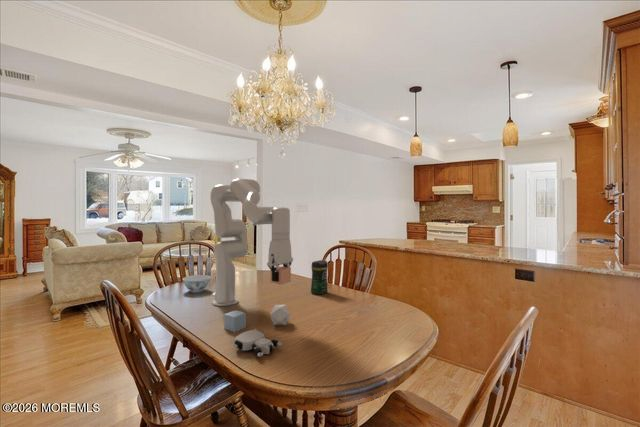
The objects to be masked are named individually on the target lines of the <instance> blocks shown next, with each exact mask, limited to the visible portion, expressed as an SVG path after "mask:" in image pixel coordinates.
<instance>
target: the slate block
mask: <svg viewBox="0 0 640 427" xmlns="http://www.w3.org/2000/svg"><path fill="white" fill-rule="evenodd" d="M223 315H224V316H223V329H224V330H226V329H227V330H226V331H229V330H230V332H232V331H233V333H235V332H238V331H240V329H241V330H243V329H245V328H247V322H246V321H247V319H246V318H247V316H246V315H247V313H246V312H243V311H240V310H232V311H229V312H227V313H224V314H223ZM242 328H243V329H242Z"/></svg>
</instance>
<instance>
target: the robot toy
mask: <svg viewBox="0 0 640 427" xmlns="http://www.w3.org/2000/svg"><path fill="white" fill-rule="evenodd" d="M228 341H229V342H230V343H231V344H232V345H234V347H235V348H237V349H238V350H240V351H250V350H253V351H254V354H255V356H256V357H263V355H269V354H270V353H273V351H274V347H275V348H277V346H278V347H281V346H282V345H283V343H282V341H279V340H277V339H272V340H271V339H268V338H265V334H264V333H263V332H261V331H259V330H258V329H257V328H254V329H252V330H247V331H244V332H242V333H240V334H238V335H236V337H234V342H233V340H231V339H229V340H228Z"/></svg>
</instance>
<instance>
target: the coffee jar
mask: <svg viewBox="0 0 640 427" xmlns="http://www.w3.org/2000/svg"><path fill="white" fill-rule="evenodd" d="M310 267H311V285H310V292H311V293H312V294H313V295H323V294H327V293H328V268H329V264H328V261H327V260H322V259H320V260H315V261H312V263H311V266H310Z"/></svg>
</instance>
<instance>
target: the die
mask: <svg viewBox="0 0 640 427" xmlns="http://www.w3.org/2000/svg"><path fill="white" fill-rule="evenodd" d="M269 316H270V318H271V321H272V324H273V326H287V324H288V322H289V320H290V318H291V313H290V309H289V307H288V304H274V306H273V307H272V309H271V311H270V313H269Z"/></svg>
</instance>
